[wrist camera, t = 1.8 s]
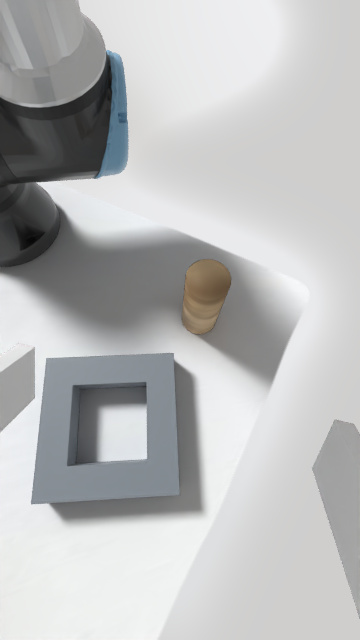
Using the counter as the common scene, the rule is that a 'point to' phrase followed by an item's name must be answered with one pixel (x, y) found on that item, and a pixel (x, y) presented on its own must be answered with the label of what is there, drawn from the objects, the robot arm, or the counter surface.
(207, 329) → the oak peg
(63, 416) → the slate socket block
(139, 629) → the counter surface
